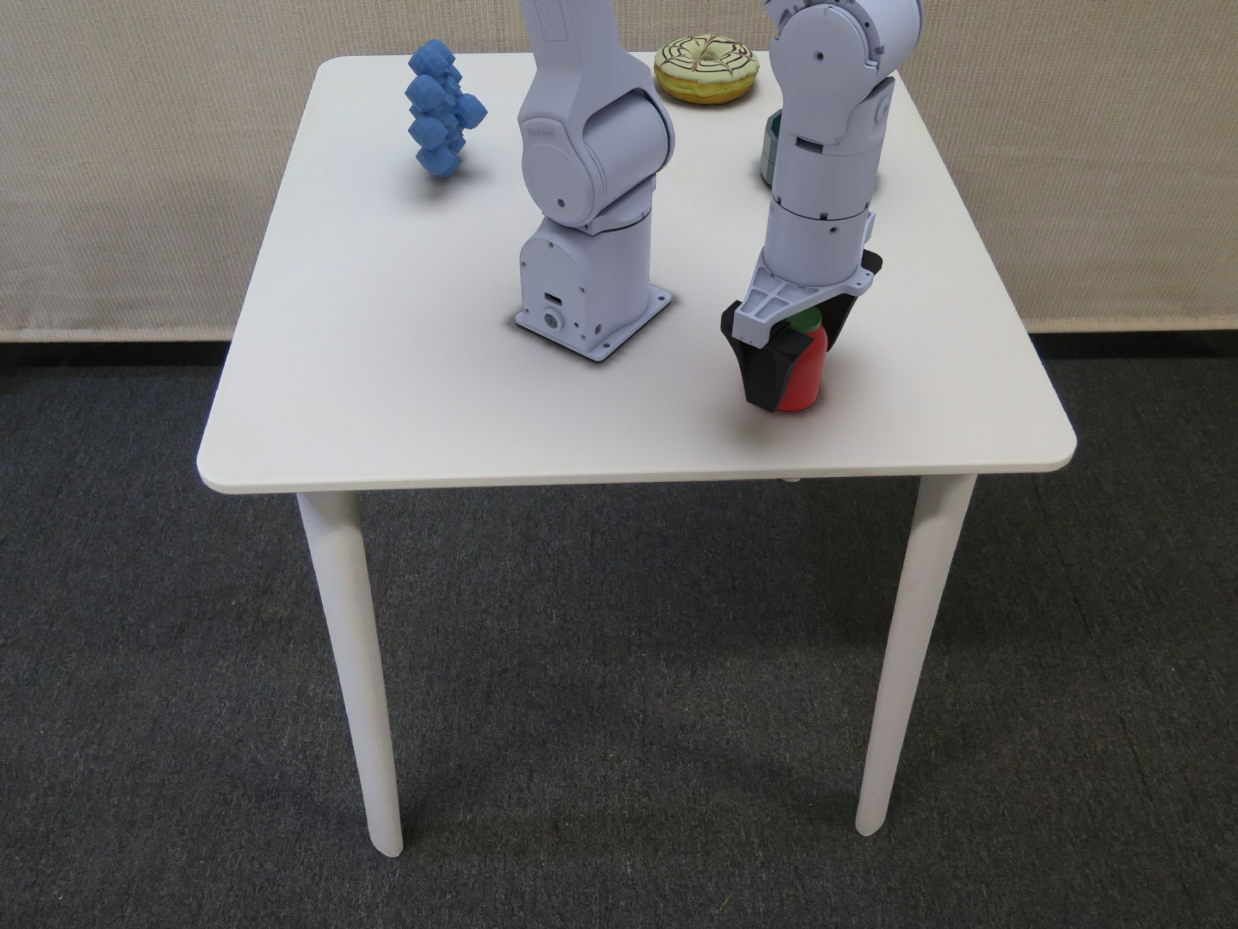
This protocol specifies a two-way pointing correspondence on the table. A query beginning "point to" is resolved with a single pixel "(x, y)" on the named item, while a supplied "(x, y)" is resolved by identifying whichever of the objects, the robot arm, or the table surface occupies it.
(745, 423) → the table surface
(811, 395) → the red jar green lid
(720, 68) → the decorated donut
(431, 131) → the grapes
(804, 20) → the robot arm
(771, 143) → the dessert bowl
